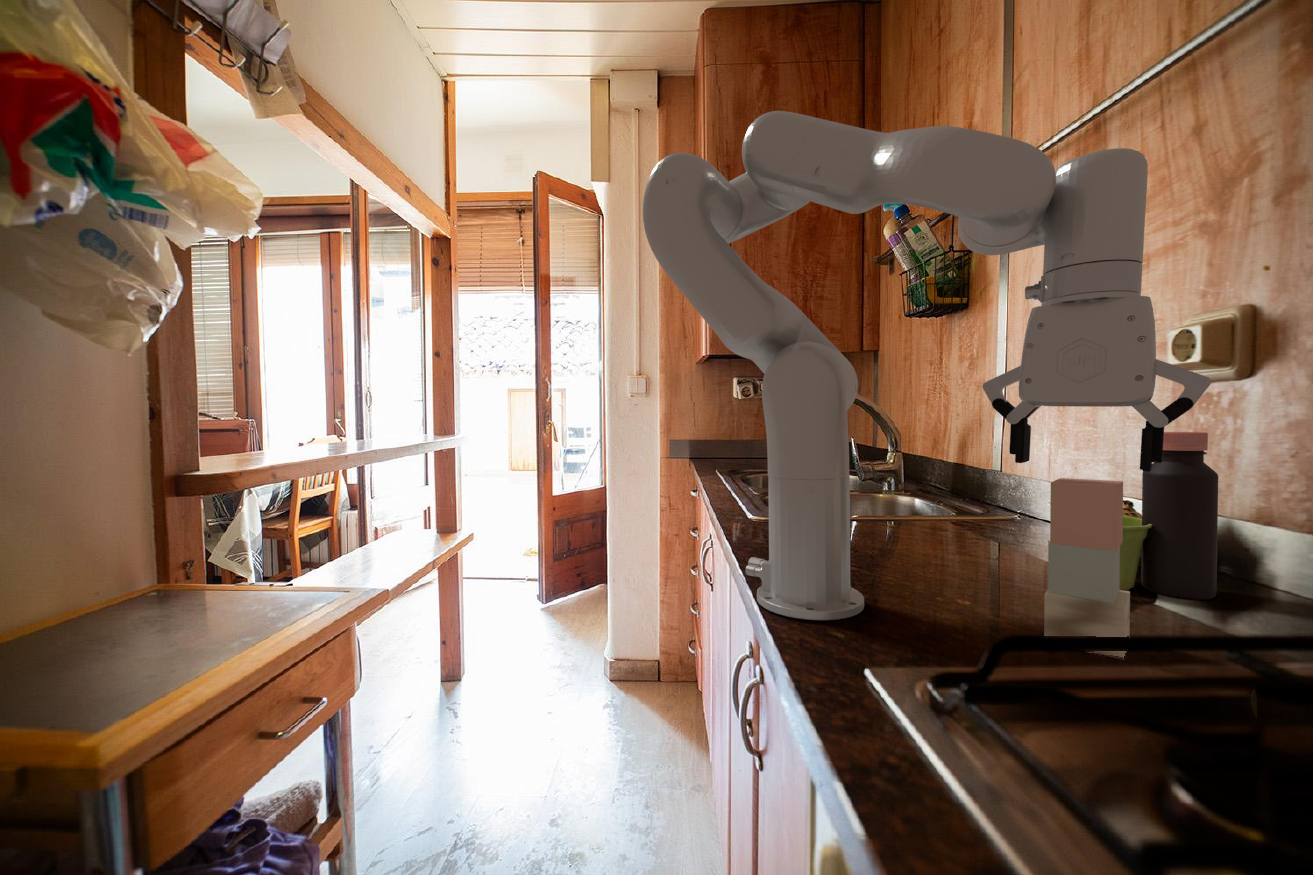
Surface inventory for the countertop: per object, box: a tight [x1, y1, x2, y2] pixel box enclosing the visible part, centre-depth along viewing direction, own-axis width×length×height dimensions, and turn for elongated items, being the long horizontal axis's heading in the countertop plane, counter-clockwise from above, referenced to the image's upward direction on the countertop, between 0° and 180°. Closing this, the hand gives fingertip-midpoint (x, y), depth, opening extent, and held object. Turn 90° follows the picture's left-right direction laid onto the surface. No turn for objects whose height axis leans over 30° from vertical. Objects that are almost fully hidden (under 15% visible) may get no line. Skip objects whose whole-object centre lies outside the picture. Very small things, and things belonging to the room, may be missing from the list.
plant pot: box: [1120, 515, 1152, 591], centre depth 71 cm, size 9×9×9 cm
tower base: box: [1043, 589, 1131, 658], centre depth 53 cm, size 6×6×5 cm
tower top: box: [1047, 541, 1120, 604], centre depth 54 cm, size 5×5×5 cm
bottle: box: [1140, 431, 1219, 601], centre depth 67 cm, size 7×7×20 cm
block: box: [1049, 477, 1124, 551], centre depth 53 cm, size 5×5×6 cm
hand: (1080, 466), depth 53 cm, fingers open, 9 cm apart
